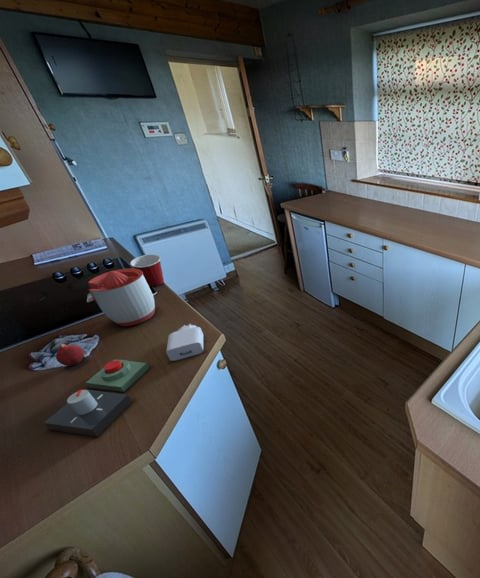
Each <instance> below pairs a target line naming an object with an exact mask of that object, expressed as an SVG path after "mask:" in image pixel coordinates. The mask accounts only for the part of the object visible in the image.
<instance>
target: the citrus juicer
mask: <svg viewBox="0 0 480 578" xmlns="http://www.w3.org/2000/svg"><path fill="white" fill-rule="evenodd" d="M87 283H88V285H89V287H90V288H89V289H88V291H89V292H88V294H87V295H86V296H87V299H86V303H91V302H93V301H94V302H95V303H96V304H97V305H98V307H99V308H100V310H101V311H102V312H103V314H104V315H105V316H106V317H107V318H109V319H110V320H111V321H112V322H113V323H114V324H117V325H118V326H121V327H131V326H135V325H139V324H141V323H144V322H145V321H147V320H149V319H151V318H152V317H153V316H154V314H155V311H156V303H155V297H154V295H153V292H152V290H151V288H150V286H149V285H148V284H147V282H146V280H145V278H144V276H143V272H142V271H141V270H140V269H135V268H134V267H129V268H128V267H127V268H121V269H115V270H110V271H108V272H105V273H102V274H100V275H97V276H95V277H93V278H91V279H90V280H89V281H88V282H87Z"/></svg>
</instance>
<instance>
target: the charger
mask: <svg viewBox="0 0 480 578" xmlns="http://www.w3.org/2000/svg"><path fill="white" fill-rule="evenodd" d="M167 338H168V339H167V346H166V351H165V353H166V355H167V357H168V359H169V361H171V362H174V361H179V360H183V359H186V358H189V357H194V356H196V355H201V354H202V353H204V332H203V330H202V328H201V327H200V326H197V325H196V324H195V325H194V324H192V323H188V325H185V324H184V325H183V326H181V327H180V328H178V329H177V331H173V332H171V333H170V334H168V337H167Z"/></svg>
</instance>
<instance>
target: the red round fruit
mask: <svg viewBox="0 0 480 578" xmlns="http://www.w3.org/2000/svg"><path fill="white" fill-rule="evenodd" d="M84 351H85V350H84V349H83V348H82V347H80V346H78V345H76V344H66V343H61V344H60V348H59V349H58V350H57V351H56V354H55V359H56V361H57V362H58V363H59V364H61V365H63V366H75V365H79V364H80V362H81V361H83V359H84V357H85V352H84Z"/></svg>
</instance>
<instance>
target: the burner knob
mask: <svg viewBox="0 0 480 578" xmlns="http://www.w3.org/2000/svg"><path fill="white" fill-rule="evenodd" d="M88 390H89V389H86V390H84V389H81V388H80V389H79V390H78V391H76V392H74V393H71V394H70V395H69V397H68V398H67V399H66V404H67V403H68V404H69V405H70V406H71V407H72V408H73V410H74V411H75V412H76V413H77V414H78V415H84V414H87V413H89V412H91V411H92V410H94V409H95V408H96V406H97V404H98V403H97V401H96V400H95V399H94V398H93V396H92V395H91V394H90V393H89V391H88Z"/></svg>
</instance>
